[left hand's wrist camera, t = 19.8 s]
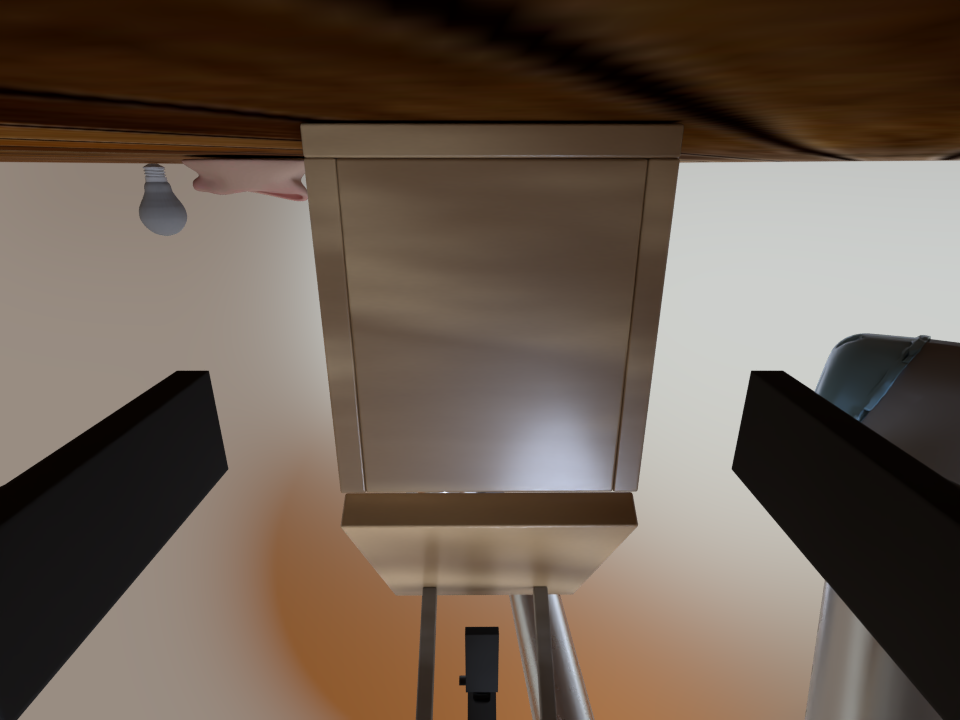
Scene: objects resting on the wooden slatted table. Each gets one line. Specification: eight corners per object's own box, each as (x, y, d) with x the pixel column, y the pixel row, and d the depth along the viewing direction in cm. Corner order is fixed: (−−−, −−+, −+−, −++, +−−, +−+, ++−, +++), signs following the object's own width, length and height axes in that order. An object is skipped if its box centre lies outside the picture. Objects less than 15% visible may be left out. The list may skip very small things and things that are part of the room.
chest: (583, 145, 25) (569, 357, 29) (384, 145, 25) (397, 358, 29) (685, 123, 13) (638, 492, 17) (298, 122, 13) (340, 493, 17)
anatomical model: (185, 211, 40) (333, 207, 45) (175, 157, 39) (329, 159, 44) (194, 202, 52) (312, 200, 56) (187, 160, 50) (308, 161, 55)
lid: (571, 571, 29) (591, 780, 24) (397, 572, 28) (380, 782, 23) (632, 491, 17) (697, 859, 12) (344, 492, 17) (292, 863, 12)
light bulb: (166, 163, 70) (181, 237, 74) (183, 163, 76) (196, 232, 79) (119, 163, 69) (136, 238, 73) (140, 163, 75) (155, 233, 78)
